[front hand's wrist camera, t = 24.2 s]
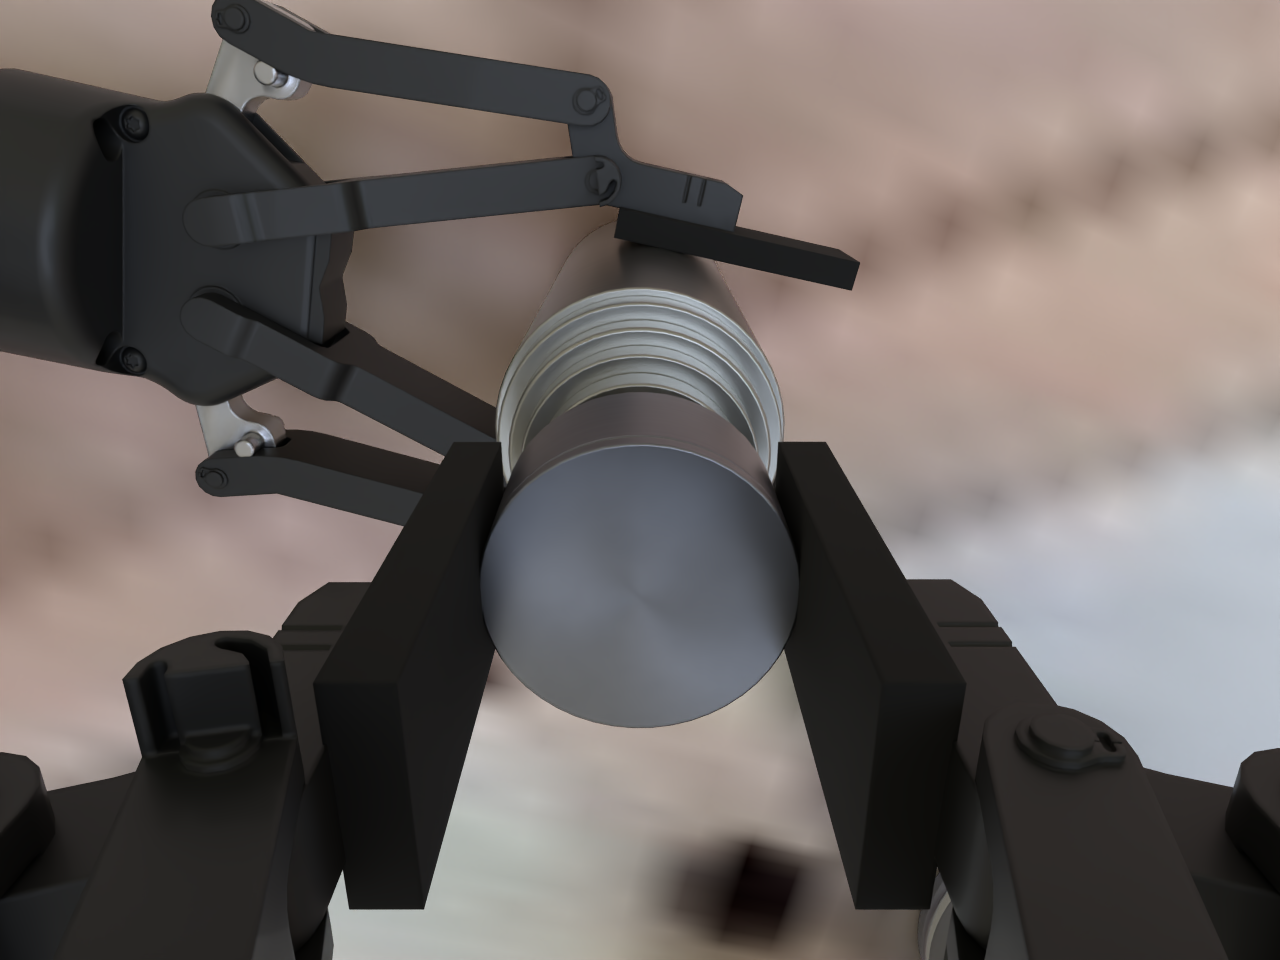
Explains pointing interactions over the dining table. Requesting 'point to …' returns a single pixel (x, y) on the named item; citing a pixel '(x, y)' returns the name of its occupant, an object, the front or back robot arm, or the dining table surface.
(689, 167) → the dining table surface
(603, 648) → the cap
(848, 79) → the dining table surface
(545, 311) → the bottle
